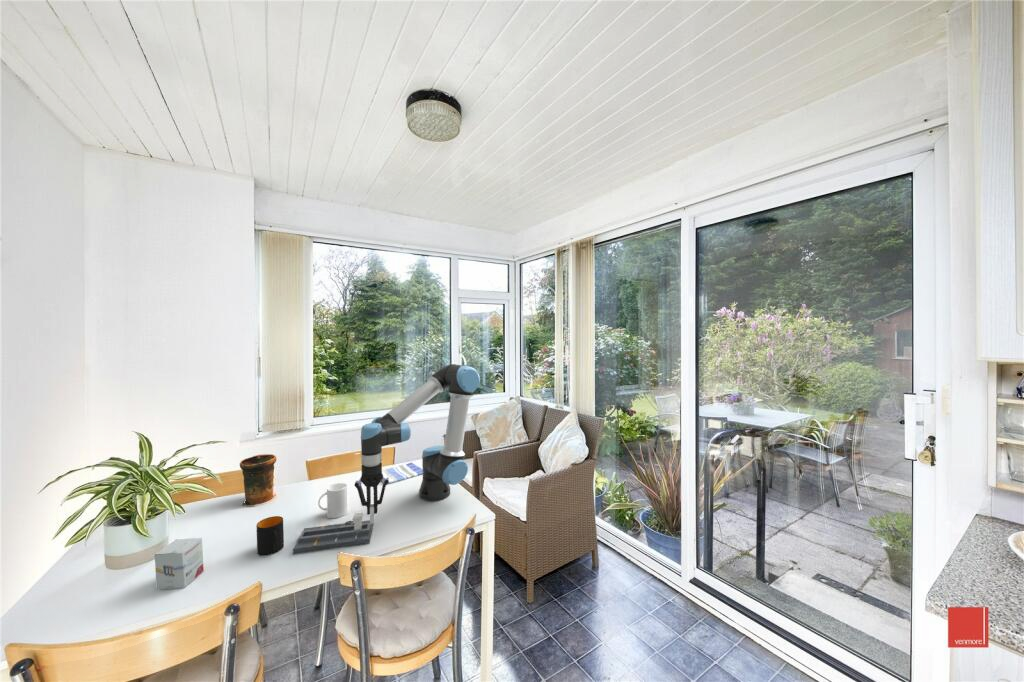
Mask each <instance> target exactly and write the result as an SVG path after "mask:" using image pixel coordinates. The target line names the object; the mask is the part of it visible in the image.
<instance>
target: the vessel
mask: <svg viewBox="0 0 1024 682" xmlns="http://www.w3.org/2000/svg"><path fill="white" fill-rule="evenodd" d="M276 462H277V456H276V455H275V454H271V453H270V454H269V453H267V454H266V453H263V454H257V455H253V456H251V457H250V456H249V457H248V458H247V457H246V458H243V459H242V460H241V461H240V462H239V467H240V469H241V470H242V475H243V487H244V488H243V489H244V498H245V499H244V501H245V500H246V501H245V503H244V501H242V504H241V506H243V507H246V508H247V507H248V508H251V507H257V506H260V505H264V504H265V505H266V504H267V503H271V501H273V500H274V499H275V498H276V496H277V494H276V493H274V486H275V483H274V479H275V476H274V470H275V468H276V467H275V463H276ZM273 494H275V495H273Z"/></svg>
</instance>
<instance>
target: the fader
mask: <svg viewBox="0 0 1024 682" xmlns="http://www.w3.org/2000/svg"><path fill="white" fill-rule="evenodd" d="M363 514H364V512H363V511H362V512H361V511H360V512H354V513H353V517H352V521H354V530H360V529H362V521H363V519H362V518H363Z"/></svg>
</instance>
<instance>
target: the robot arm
mask: <svg viewBox="0 0 1024 682" xmlns="http://www.w3.org/2000/svg"><path fill="white" fill-rule="evenodd" d="M480 378H481V377H480V374H479V372H478V370H477V369H475V368H474V367H472V366H468V365H462V364H454V363H453V364H448V365H444V366H443V367H441V368H440V369H439V370H437V371H435V372H434V373H433V374H432V375H430V376H429V377H428V380H427V381H426V382H425V383H424V384H422V385H421V386H420V387H418V388H417V389H416V390H415V391H413V392H412V393H411V394H410V395H408V396H407V397H406V398H404V399H403V400H402V401H401V402H399V403H398V404H397V405H396V406H395V407H393V408H391V410H389V411H388V412H387V413H386V414H385V415H383V416H378V417H375V418H374V419H373V420H372V421H371V422H370V423H365V424H363V425H362V427H361V429H360V445H361V453H360V454H361V455H360V458H361V461H360V462H361V476H360V479H359V480H355V481H354V487H355V488H356V490H357V492H358V496H359V500H360V504H361V506H362V507H366V515H369V520H370V524H371V523H374V524H375V520H376V519H375V518H376V514H378V510H379V509H378V506H379V505H382V503H383V500H384V499H383V498H384V495H385V490H386V487H387V485H388V484H387V483H388V481H389V478H385V477H383V474H382V471H383V466H382V465H383V464H382V460H383V459H382V456H383V455H382V452H383V451H382V447H386V446H389V445H395V444H399V443H403V442H407V441H409V440H410V439H411V435H412V433H411V432H412V431H411V427H410V425H409V424H408V423H407V422H405V421H406V420H407V419H408V418H409V417H411V416H412V415H413V414H414V413H416V412H417V411H418V410H419V409H421V408H422V407H424V405H425V404H426V403H427V402H429V401H430V400H431V399H433V398H434V397H435V396H436V395H437V394H439V393H440V394H441V393H443V392H444V391H446V390H447V389H448V391H447V392H448V394H449V396H450V403H449V407H448V408H449V409H448V414H447V415H448V416H447V424H446V430H445V438H444V444H443V445H435V446H429V447H426V448H425V449H423V450H422V456H421V458H422V460H421V461H422V462H421V463H422V465H421V467H422V468H421V469H422V470H423V474H422V480H421V484H420V487H419V490H418V495H419V496H418V497H419V498H420V499H422V500H423V501H426V502H429V501H430V502H435V501H441V500H443V499H447V498H448V497H449V496H450V495H451V486H456V485H458V484H460V483H461V482H463V480H464V479H465V478H466V476H467V474H468V471H469V467H468V464H467V462H466V461H465V456H466V453H465V452H464V450H463V449H464V448H463V445H464V439H465V433H466V432H465V431H466V426H467V418H468V411H469V403H470V399H471V398H472V397H473V396H474V392H475V391H476V390H477V389H478V388H479V386H480V383H481V382H480V381H481V379H480ZM381 480H382V481H381ZM380 483H382V487H381V490H380V494H379V499H378V486H379V484H380ZM362 484H363V485H364V487H366V488H365V489H366V497H365V493H364V490H363V487H362ZM450 485H451V486H450ZM371 488H373V503H372V501H371V500H372V499H371V497H372V496H371V495H372V493H371V492H372V491H371V490H372V489H371Z"/></svg>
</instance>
